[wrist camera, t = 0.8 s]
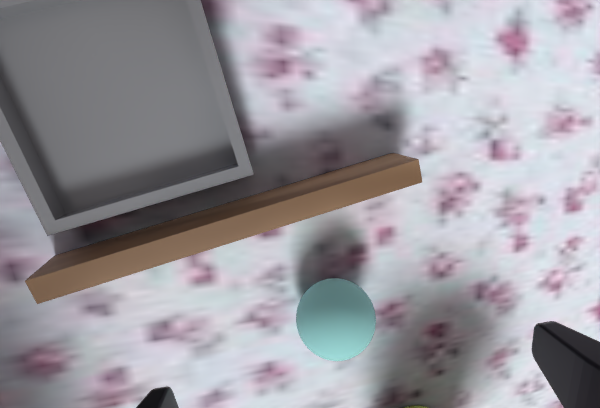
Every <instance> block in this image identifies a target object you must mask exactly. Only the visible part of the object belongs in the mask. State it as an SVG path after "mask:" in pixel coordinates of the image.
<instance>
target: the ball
mask: <svg viewBox="0 0 600 408" xmlns="http://www.w3.org/2000/svg"><path fill="white" fill-rule="evenodd" d="M296 323H297V328H298V332H299V335H300V337H301V339H302V341H303V342H304V344H305V345H306V346H307V348H308V349H309V350H311V351H312V352H313V353H314V354H316V355H317V356H319V357H321V358H323V359H327V360H332V361H343V360H347V359H350V358H353V357H355V356H357V355H358V354H360V353H361V352H362V351H363V350H364V349H365V348H366V347H367V346H368V344H369V343H370V341H371V339H372V337H373V334H374V331H375V324H376V317H375V310H374V307H373V304H372V302H371V300H370V298H369V297H368V295H367V294H366V293H365V292H364V291H363V290H362V289H361V288H360V287H359V286H358V285H356V284H354V283H353V282H351V281H348V280H345V279H340V278H330V279H325V280H322V281H319V282H317V283H315V284H314V285H313V286H311V287H310V288H309V289H308V290H307V291H306V292H305V293H304V295H303V296H302V298H301V300H300V302H299V305H298V308H297V314H296Z"/></svg>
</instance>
